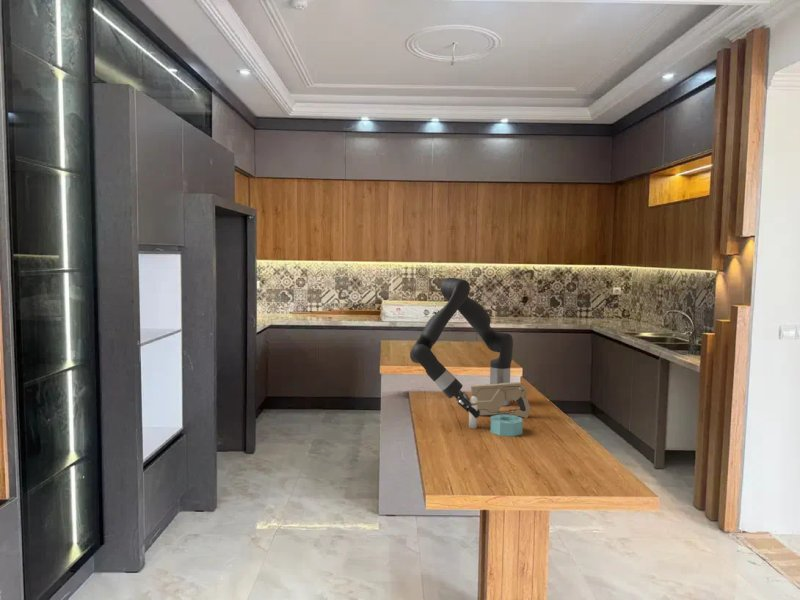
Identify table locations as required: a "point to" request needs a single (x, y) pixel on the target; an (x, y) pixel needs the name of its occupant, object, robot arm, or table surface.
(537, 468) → the table surface
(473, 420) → the striped domed peg
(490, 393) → the gun
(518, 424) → the bead
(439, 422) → the table surface
